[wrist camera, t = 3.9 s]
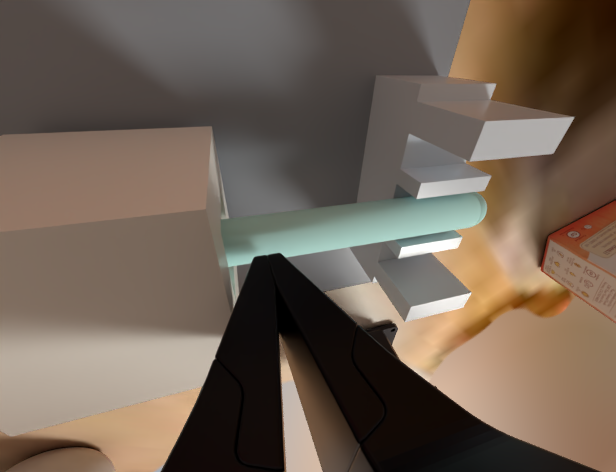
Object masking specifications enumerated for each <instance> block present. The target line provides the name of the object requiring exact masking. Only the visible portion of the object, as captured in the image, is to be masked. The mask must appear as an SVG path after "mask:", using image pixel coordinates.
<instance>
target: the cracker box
mask: <svg viewBox="0 0 616 472" xmlns="http://www.w3.org/2000/svg"><path fill="white" fill-rule="evenodd" d="M541 271H542V272H544V273H545V274H546V275H548V276H549V277H550V278H552V279H553V280H554V281H556V282H557V283H559V284H560V285H562V286H563V287H564V288H566V289H567V290H569V291H570V292H572V293H573V294H574V295H576V296H577V297H579V298H580V299H582V300H583V301H585V302H586V303H587V304H589V305H590V306H591V307H593V308H594V309H596V310H597V311H599V312H600V313H601V314H603V315H604V316H606V317H607V318H609V319H610V320H611V321H613V322H614V323H616V200H615V201H613V202H611V203H609V204H608V205H606V206H604V207H602V208H600V209H598V210H596V211H594V212H593V213H591V214H589V215H587V216H585V217H583V218H581V219H579V220H577V221H575V222H573V223H572V224H570V225H568V226H566V227H564V228H562V229H560V230H558V231H556V232H554V233H552V234H551V235H549V236H548V239H547V244H546V248H545V253H544V257H543V261H542V266H541Z"/></svg>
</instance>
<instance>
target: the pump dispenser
mask: <svg viewBox="0 0 616 472" xmlns="http://www.w3.org/2000/svg"><path fill="white" fill-rule="evenodd" d="M5 472H116V471H115V468H114V466H113V464H112V462H111V460H110V459H109V458H108V457H107V456H106V455H104V454H103V453H101V452H99V451H97V450H94V449H90V448H84V447H70V448H61V449H55V450H51V451H47V452H43V453H40V454H38V455H35V456H33V457H30V458H28V459H26V460H24V461H22V462H20V463H18V464H16V465H14V466H13V467H11V468H10V469H8V470H7V471H5Z"/></svg>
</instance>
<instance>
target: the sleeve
mask: <svg viewBox="0 0 616 472" xmlns="http://www.w3.org/2000/svg"><path fill="white" fill-rule="evenodd" d="M221 219H229V216H228V210H227V205H226V200H225V194H224V189H223V183H222V178H221V173H220V167H219V162H218V156H217V151H216V146H215V140H214V135H213V129H212V126H205V127H180V128H156V129H131V130H106V131H82V132H57V133H32V134H8V135H2V136H0V431H1V432H3V433H5V434H7V435H8V436H10V437H12V436H16V435H20V434H23V433H27V432H31V431H35V430H39V429H42V428H46V427H50V426H54V425H58V424H62V423H65V422H69V421H73V420H77V419H81V418H85V417H88V416H92V415H96V414H100V413H104V412H107V411H111V410H115V409H119V408H123V407H127V406H130V405H134V404H138V403H142V402H146V401H150V400H153V399H157V398H161V397H165V396H169V395H172V394H176V393H180V392H184V391H188V390H192V389H195V388H199V387H203V384H204V382H205V379H206V377H207V375H208V372H209V370H210V367H211V364H212V362H213V360H214V359H215V355H216V352H217V350H218V347H219V344H220V342H221V339H222V337H223V334H224V332H225V329H226V326H227V324H228V321H229V319H230V316H231V314H232V311H233V309H234V306H235V303H236V301H237V298H238V296H239V287H238V275H237V266H231V267H228V263H227V258H226V254H225V249H224V244H223V240H222V235H221Z"/></svg>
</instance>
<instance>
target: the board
mask: <svg viewBox="0 0 616 472" xmlns="http://www.w3.org/2000/svg"><path fill="white" fill-rule="evenodd" d="M469 3H470V0H0V136H2V135H8V134H32V133H57V132H82V131H106V130H131V129H156V128H180V127H205V126H212V129H213V135H214V140H215V146H216V151H217V156H218V162H219V167H220V173H221V178H222V183H223V189H224V194H225V200H226V205H227V210H228V216H229V218H237V217H245V216H254V215H262V214H270V213H278V212H287V211H295V210H303V209H311V208H320V207H328V206H336V205H344V204H353V203H361V202H369V201H377V200H385V199H394V198H402V197H410V196H413V197H414V198H416V199H421V198H429V197H437V196H445V195H453V194H461V193H469V192H477V191H485V188H486V186H487V184H488V182H489V180H490V178H491V175H489V174H487V173H485V172H483V171H481V170H478V169H476V168H474V167H472V166H470V165H468V164H466V160H467V161H469V162H470V161H481V160H492V159H503V158H514V157H525V156H536V155H547V154H553V153H554V152H555V150H556V148H557V147H558V145H559V143H560V142H561V140H562V138H563V136H564V135H565V133H566V131H567V130H568V128H569V126H570V124H571V123H572V121H573V119H574V118H575V117H572V116H567V115H562V114H557V113H552V112H547V111H542V110H537V109H532V108H528V107H523V106H518V105H513V104H508V103H503V102H498V101H493V100H490V99H491V97H492V94H493V91H494V89H495V86H496V83H489V82H481V81H474V80H467V79H460V78H453V77H448V75H449V71H450V68H451V65H452V61H453V58H454V54H455V51H456V48H457V44H458V41H459V37H460V34H461V31H462V27H463V24H464V20H465V17H466V13H467V10H468V7H469ZM461 240H462V236H461V235H459V234H458V233H457V232H456V231H454V230H451V231H445V232H439V233H433V234H427V235H421V236H415V237H408V238H402V239H396V240H390V241H384V242H378V243H372V244H366V245H359V246H353V247H347V248H341V249H335V250H329V251H323V252H317V253H311V254H304V255H298V256H292V257H286V258H287V259H288V260H289V261H290V262H291V263H292V264H293V265H294V266H295V267H296V268H298V269H299V270H300V271H301V272H302V273H303V274H304V275H305V276H306V277H307V278H308V279H309V280H311V281H312V282H313V283H314V284H315V285H316V286H317V287H318V288H319V289H320V290H321V291H322V292H324V291H329V290H334V289H339V288H344V287H349V286H354V285H359V284H364V283H369V282H372V283H376V282H378V283H379V284H380V286H381V287H382V289H383V290H384V292H385V293H386V295H387V296H388V298H389V299H390V301H391V302H392V304H393V305H394V307H395V308H396V310H397V311H398V313H399V314H400V316H401V317H402V319H403V320H404V322H407V321H411V320H415V319H419V318H423V317H427V316H431V315H435V314H439V313H443V312H447V311H451V310H455V309H459V308H463V307H464V305H465V303H466V301H467V300H468V298H469V296H470V295H471V292H470V291H469V290H468V289H467V288H466V287H465V286H464V285H463V284H462V283H461V282H460V281H459V280H458V279H457V278H456V277H455V276H454V275H453V274H452V273H451V272H450V271H449V270H448V269H447V268H446V267H445V266H444V265H443V264H442V263H441V262H440V261H439V260H438V259H437V258H436V257H435V256H434V255H433V254H432V252H438V251H443V250H449V249H454V248H458V246H459V244H460V242H461ZM250 265H251V263H249V264H243V265H237V275H238V287H239V293H240V291H241V288H242V285H243V283H244V280H245V278H246V275H247V273H248V270H249V268H250Z"/></svg>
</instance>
